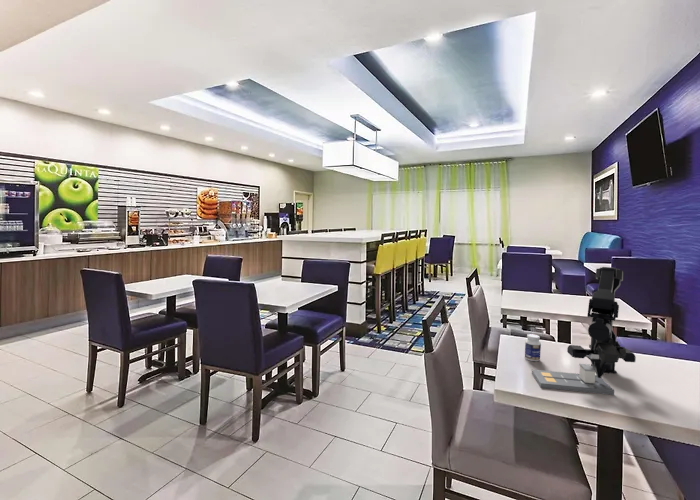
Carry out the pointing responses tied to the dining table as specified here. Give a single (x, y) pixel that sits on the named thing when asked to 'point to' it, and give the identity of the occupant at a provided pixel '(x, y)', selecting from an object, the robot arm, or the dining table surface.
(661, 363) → the dining table surface
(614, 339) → the robot arm
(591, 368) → the fader
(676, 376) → the dining table surface
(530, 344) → the pill bottle
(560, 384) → the mixing board
